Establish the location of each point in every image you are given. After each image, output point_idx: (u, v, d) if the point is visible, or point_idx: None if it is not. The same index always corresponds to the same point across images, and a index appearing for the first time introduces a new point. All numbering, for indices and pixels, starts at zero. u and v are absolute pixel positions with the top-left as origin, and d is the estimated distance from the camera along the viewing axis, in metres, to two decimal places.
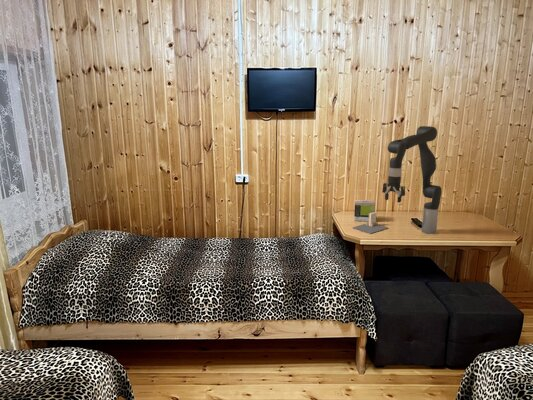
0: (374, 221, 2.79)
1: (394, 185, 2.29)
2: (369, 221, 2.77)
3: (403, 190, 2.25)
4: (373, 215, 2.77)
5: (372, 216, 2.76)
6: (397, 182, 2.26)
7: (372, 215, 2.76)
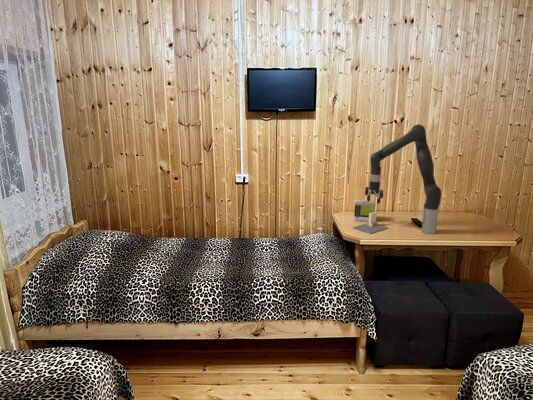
0: (374, 221, 2.79)
1: (374, 189, 2.71)
2: (369, 221, 2.77)
3: (381, 193, 2.68)
4: (373, 215, 2.77)
5: (372, 216, 2.76)
6: (376, 186, 2.69)
7: (372, 215, 2.76)
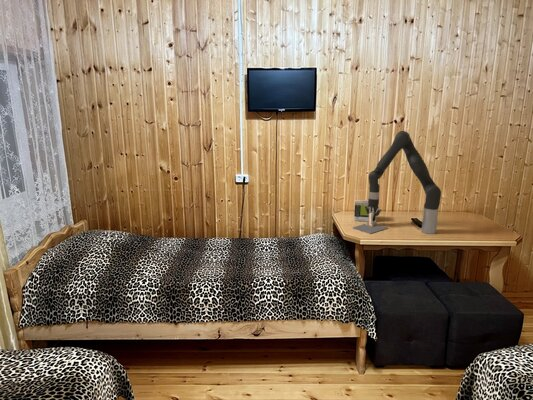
0: (374, 221, 2.79)
1: (373, 206, 2.75)
2: (369, 221, 2.77)
3: (378, 212, 2.73)
4: None
5: (372, 216, 2.76)
6: (375, 204, 2.72)
7: (372, 215, 2.76)
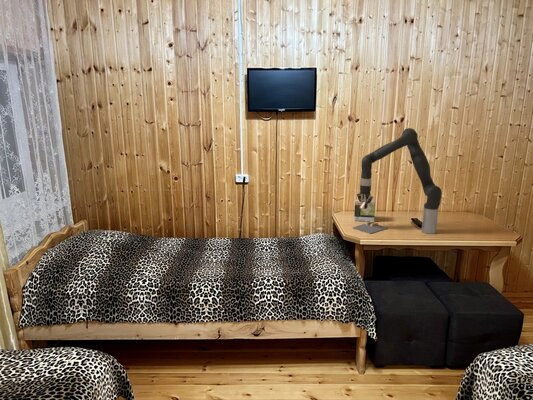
0: (368, 208, 2.72)
1: (365, 193, 2.66)
2: (364, 212, 2.71)
3: (370, 199, 2.64)
4: (364, 206, 2.68)
5: None
6: (367, 190, 2.63)
7: (363, 207, 2.68)
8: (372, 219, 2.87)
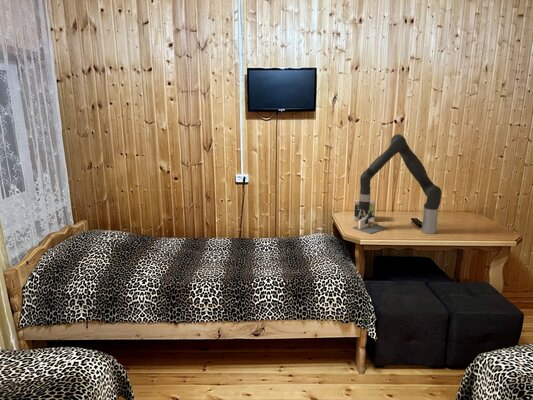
0: None
1: (364, 208, 2.69)
2: None
3: (370, 214, 2.66)
4: (361, 224, 2.71)
5: (362, 225, 2.71)
6: (366, 206, 2.66)
7: (361, 226, 2.71)
8: (372, 219, 2.87)
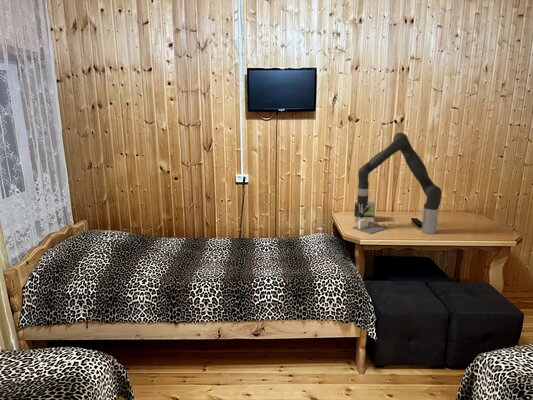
0: (366, 221, 2.73)
1: (362, 203, 2.69)
2: None
3: (367, 209, 2.68)
4: (361, 224, 2.71)
5: (362, 225, 2.71)
6: (364, 200, 2.67)
7: (361, 226, 2.71)
8: (372, 219, 2.87)
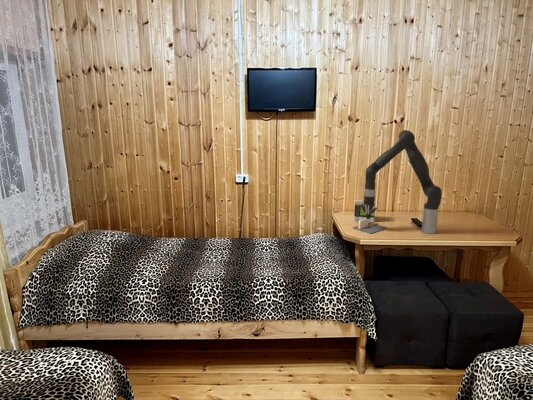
0: (366, 221, 2.73)
1: (369, 204, 2.65)
2: None
3: (374, 210, 2.63)
4: (361, 224, 2.71)
5: (362, 225, 2.71)
6: (371, 201, 2.62)
7: (361, 226, 2.71)
8: (372, 219, 2.87)
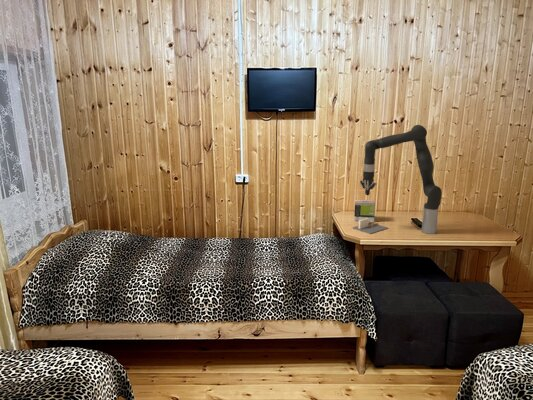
0: (366, 221, 2.73)
1: (368, 179, 2.62)
2: None
3: (373, 186, 2.61)
4: (361, 224, 2.71)
5: (362, 225, 2.71)
6: (370, 176, 2.59)
7: (361, 226, 2.71)
8: (372, 219, 2.87)
